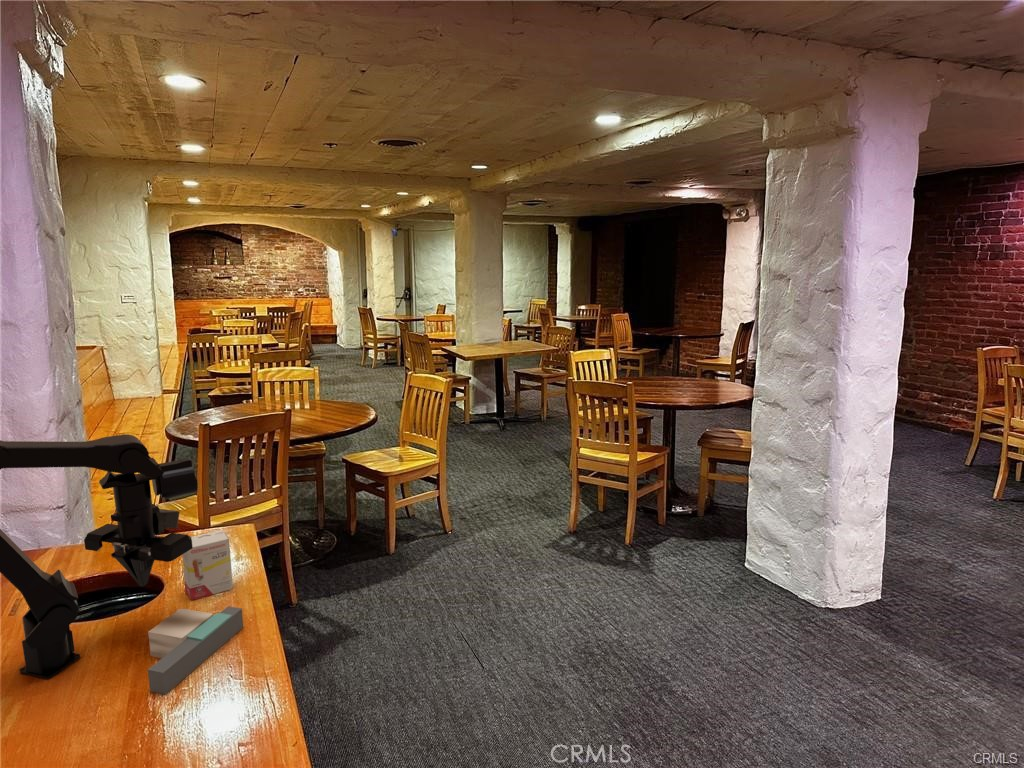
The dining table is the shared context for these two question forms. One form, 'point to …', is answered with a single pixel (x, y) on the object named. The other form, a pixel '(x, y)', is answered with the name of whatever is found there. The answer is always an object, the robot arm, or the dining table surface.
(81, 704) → the dining table surface
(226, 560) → the ink box
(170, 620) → the pale block
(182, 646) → the dark bar
